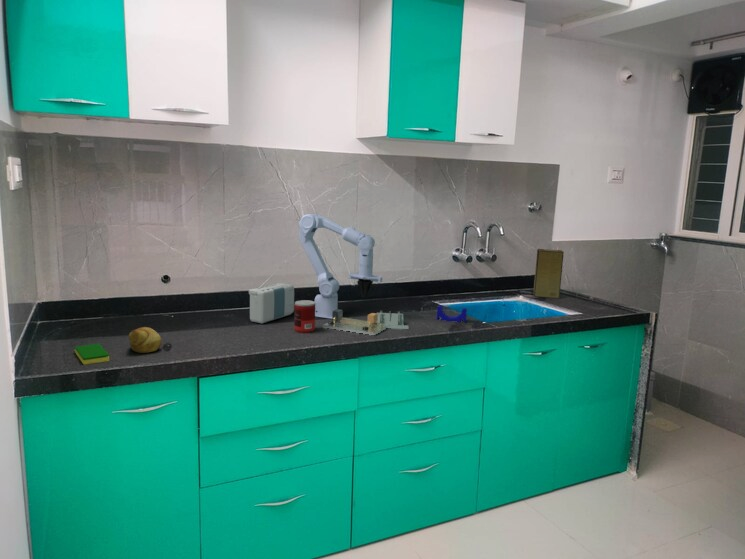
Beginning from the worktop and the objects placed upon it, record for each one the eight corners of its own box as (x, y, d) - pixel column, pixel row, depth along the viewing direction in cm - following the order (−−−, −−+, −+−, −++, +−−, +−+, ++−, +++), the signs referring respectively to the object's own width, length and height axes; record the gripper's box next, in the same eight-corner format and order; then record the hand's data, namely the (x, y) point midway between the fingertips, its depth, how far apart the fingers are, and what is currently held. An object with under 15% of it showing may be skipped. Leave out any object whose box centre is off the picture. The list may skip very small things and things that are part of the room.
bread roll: (129, 344, 186) (128, 321, 184) (160, 342, 190) (160, 319, 188) (129, 356, 174) (128, 331, 173) (162, 353, 178) (161, 329, 177)
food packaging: (558, 295, 302) (562, 249, 298) (559, 298, 293) (564, 251, 289) (532, 293, 305) (536, 248, 301) (533, 296, 296) (537, 250, 292)
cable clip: (466, 321, 237) (467, 307, 236) (464, 323, 233) (465, 309, 232) (438, 318, 241) (439, 304, 240) (436, 320, 237) (437, 306, 235)
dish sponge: (83, 366, 165) (83, 358, 164) (75, 353, 175) (74, 346, 175) (109, 362, 169) (109, 354, 168) (99, 350, 180) (99, 343, 179)
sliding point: (366, 326, 215) (366, 315, 214) (371, 323, 219) (371, 312, 218) (372, 327, 214) (372, 316, 213) (377, 324, 218) (377, 313, 217)
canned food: (318, 329, 214) (318, 301, 212) (309, 334, 207) (309, 305, 205) (300, 326, 216) (300, 299, 215) (290, 331, 209) (291, 303, 207)
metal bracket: (372, 307, 230) (408, 309, 230) (371, 319, 233) (407, 321, 232) (370, 325, 217) (408, 327, 217) (370, 338, 220) (407, 339, 219)
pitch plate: (322, 327, 216) (322, 314, 215) (336, 321, 227) (337, 308, 226) (374, 335, 208) (374, 321, 207) (386, 328, 219) (387, 315, 218)
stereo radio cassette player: (263, 325, 217) (263, 274, 213) (246, 322, 221) (246, 272, 217) (294, 315, 235) (295, 268, 232) (279, 312, 239) (279, 266, 235)
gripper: (345, 264, 227) (344, 297, 230) (378, 268, 222) (376, 301, 224) (353, 262, 234) (352, 294, 236) (384, 265, 228) (383, 298, 230)
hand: (364, 297), depth 231 cm, fingers closed
